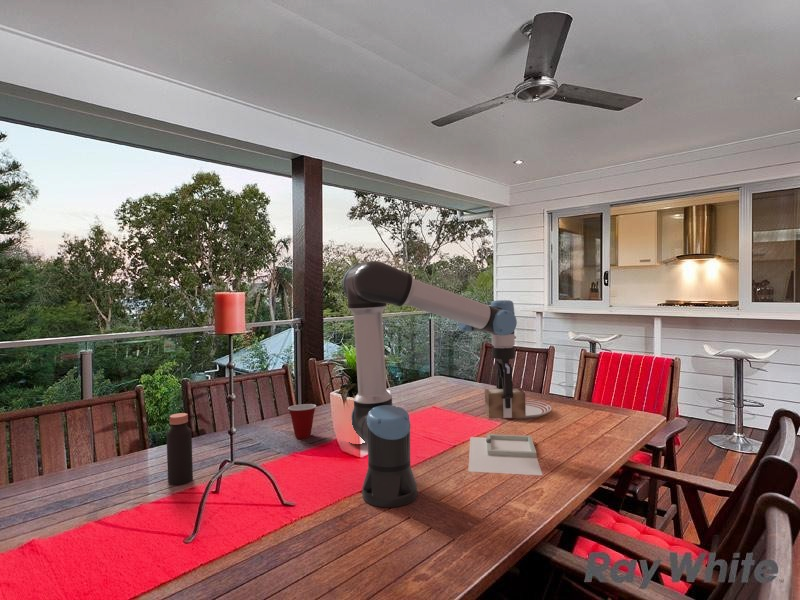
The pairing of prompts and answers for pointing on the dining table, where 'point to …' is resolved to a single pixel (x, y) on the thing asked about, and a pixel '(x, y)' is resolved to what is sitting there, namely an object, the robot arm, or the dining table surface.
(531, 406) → the dinner plate
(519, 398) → the wooden block
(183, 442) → the bottle
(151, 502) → the dining table surface
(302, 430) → the plastic cup
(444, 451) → the dining table surface
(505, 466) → the grey board with frame
